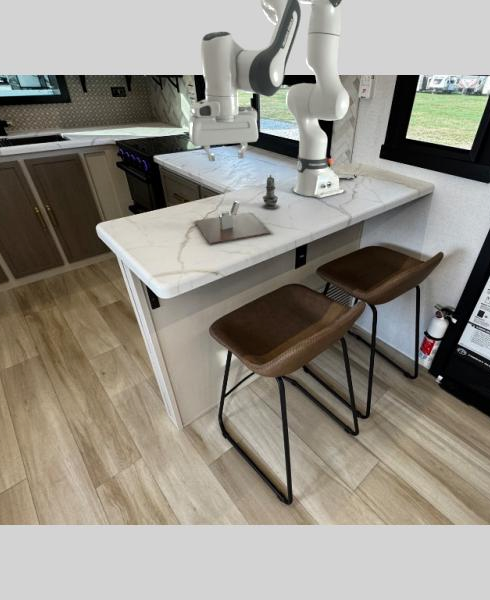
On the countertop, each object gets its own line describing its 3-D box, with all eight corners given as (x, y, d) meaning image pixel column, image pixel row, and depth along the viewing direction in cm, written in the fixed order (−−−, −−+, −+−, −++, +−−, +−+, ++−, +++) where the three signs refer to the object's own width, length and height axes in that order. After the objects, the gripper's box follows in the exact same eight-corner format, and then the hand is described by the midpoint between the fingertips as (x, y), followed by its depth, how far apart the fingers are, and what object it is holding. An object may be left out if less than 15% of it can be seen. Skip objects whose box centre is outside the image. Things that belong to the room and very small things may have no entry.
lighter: (222, 229, 102) (220, 205, 98) (219, 227, 103) (217, 203, 99) (241, 225, 106) (240, 201, 101) (238, 223, 107) (237, 199, 102)
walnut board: (250, 214, 115) (250, 212, 115) (270, 234, 103) (270, 232, 102) (195, 222, 108) (195, 220, 107) (210, 244, 95) (210, 243, 95)
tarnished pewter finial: (270, 203, 125) (271, 171, 118) (281, 207, 122) (282, 175, 115) (259, 206, 122) (259, 174, 115) (269, 210, 119) (269, 178, 111)
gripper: (252, 104, 95) (254, 154, 103) (183, 106, 87) (191, 159, 95) (261, 107, 90) (262, 158, 99) (189, 109, 83) (197, 165, 91)
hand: (226, 159), depth 97 cm, fingers open, 8 cm apart
